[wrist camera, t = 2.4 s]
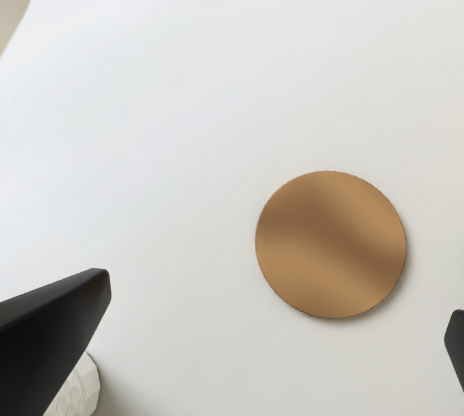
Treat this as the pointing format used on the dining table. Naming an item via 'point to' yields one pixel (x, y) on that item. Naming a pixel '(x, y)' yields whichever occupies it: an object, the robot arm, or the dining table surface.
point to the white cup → (77, 391)
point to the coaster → (330, 244)
